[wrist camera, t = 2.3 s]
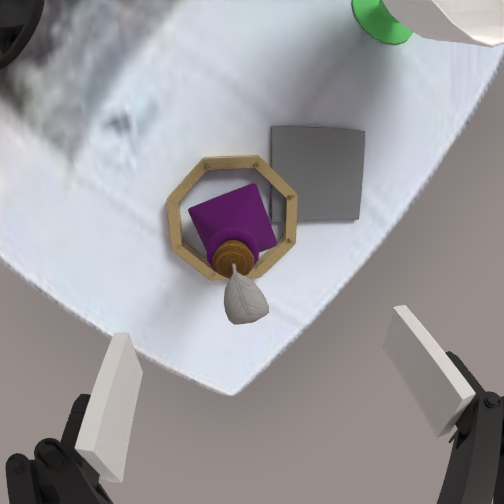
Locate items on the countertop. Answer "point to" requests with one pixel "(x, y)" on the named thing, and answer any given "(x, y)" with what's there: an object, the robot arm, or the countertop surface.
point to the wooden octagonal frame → (232, 163)
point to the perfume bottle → (236, 247)
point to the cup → (433, 20)
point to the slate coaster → (318, 171)
